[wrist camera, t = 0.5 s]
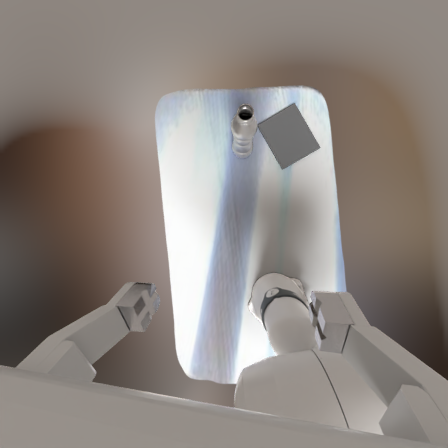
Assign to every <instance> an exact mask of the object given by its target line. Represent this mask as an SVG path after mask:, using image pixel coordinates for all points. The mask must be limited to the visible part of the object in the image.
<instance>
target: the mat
mask: <svg viewBox="0 0 448 448" xmlns="http://www.w3.org/2000/svg"><path fill="white" fill-rule="evenodd" d="M258 128H259V130H260V131H261V133H262V135H263V137H264V138H265V140H266V142H267V144H268V145H269V147H270V149H271V151H272V152H273V154H274V156H275V158H276V159H277V161H278V163H279V165H280V166H281V168H282V170H283V169H284V168H286V167H288V166H290V165H291V164H293V163H295V162H297V161H298V160H300V159H302V158H303V157H305V156H307V155H309V154H310V153H312V152H314V151H316V150H317V149H319V148H320V146H319V144H318V143H317V141H316V139H315V138H314V136H313V134H312V132H311V131H310V129H309V127H308V125H307V124H306V122H305V120H304V118H303V117H302V115H301V113H300V112H299V110H298V108H297V106H296V105H295V103H294V104H293V105H291V106H289V107H288V108H286V109H284V110H283V111H281V112H279V113H278V114H276V115H274V116H273V117H271V118H269V119H268V120H266V121H264V122H263V123H261V124H259V125H258Z"/></svg>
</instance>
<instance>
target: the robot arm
mask: <svg viewBox="0 0 448 448" xmlns="http://www.w3.org/2000/svg"><path fill="white" fill-rule="evenodd" d="M298 286H299V287H298ZM155 290H156V287H155V284H152V283H139V282H128V283H126V284H125V285H124V286H123V287H122V288H121V289H120V290H119V291H118V293H117V294H116V295H115V296H114V297H113V298H112V299H111V300H110V301H109V302H108V304H107V305H103V306H101V307H99V308H98V309H96V310H94V311H92V312H91V313H89V314H87V315H85V316H84V317H82V318H80V319H78V320H77V321H75V322H73V323H71V324H70V325H68V326H66V327H64V328H63V329H61V330H59V331H58V332H56V333H54V334H52V335H51V336H49V337H47V338H46V339H45V340H44V341H43V342H42V343H41V344H40V345H39V346H38V347H37V348H36V349H35V350H34V351H33V352H32V353H31V354H30V355H29V356H28V357H26V358H25V359H24V360H23V361H22V362H21V363H20V364H19V365H18V366H17V367H16V368H12V367H6V366H1V365H0V448H448V381H447V380H446V379H445V378H443V377H442V376H440V375H439V374H438V373H436V372H435V371H434V370H432V369H431V368H430V367H428V366H427V365H426V364H424V363H423V362H422V361H420V360H419V359H418V358H416V357H415V356H414V355H412V354H411V353H409V352H408V351H407V350H405V349H404V348H403V347H401V346H400V345H399V344H397V343H396V342H395V341H393V340H392V339H391V338H389V337H388V336H387V335H385V334H384V333H382V332H381V331H380V330H378V329H377V328H376V327H371V326H370V325H369V323H368V321H367V320H366V318H365V316H364V315H363V313H362V312H361V310H360V308H359V307H358V305H357V303H356V302H355V300H354V299H353V297H352V295H351V294H350V293H348V292H328V291H312V292H311V300H312V302H311V303H310V304H308V300H307V298H306V295H305V292H304V289H303V286H302V283H301V281H300V280H299V279H295V278H289V277H287V276H285V275H282V274H279V273H269V274H266V275H264V276H262V277H260V278H259V279H258V280H257V281H256V283H255V284H254V286H253V289H252V298H251V300H250V302H249V304H248V308H249V310H250V311H251V312H252V314H253V315H254V316H255V317H256V318H257V319H258V321H259V322H260V323H261V324H262V325H263V327H264V328H265V330H266V331H267V334H268V337H269V341H270V344H271V346H272V348H273V350H274V352H275V353H276V354H277V355H278V356H272V357H268V358H266V359H263V360H261V361H259V362H257V363H254V364H252V365H250V366H248V367H246V368H244V369H243V371H242V372H241V374H240V376H239V379H238V382H237V385H236V389H235V396H234V408H232V407H227V406H221V405H215V404H210V403H205V402H199V401H194V400H188V399H183V398H177V397H171V396H166V395H161V394H155V393H150V392H144V391H138V390H133V389H127V388H122V387H116V386H111V385H105V384H100V383H94V382H92V380H93V379H94V377H95V375H96V371H95V370H94V368H93V367H92V364H93V363H94V362H95V361H96V360H98V359H99V358H100V357H101V356H102V355H103V354H105V353H106V352H107V351H108V350H109V349H110V348H112V347H113V346H114V345H115V344H116V343H117V342H119V341H120V340H121V339H122V338H123V337H124V336H125V335H127V334H128V333H129V331H140V332H145V330H146V328H147V326H148V325H149V323H150V322H151V316H152V315H153V314H154V313H155V312H156V311H157V309H158V307H159V304H160V297H159V295H158V294H157V293H156V292H155ZM253 309H254V310H253Z"/></svg>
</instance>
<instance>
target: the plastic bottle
mask: <svg viewBox="0 0 448 448" xmlns="http://www.w3.org/2000/svg"><path fill="white" fill-rule="evenodd" d="M231 130H232V133H233V137H234V140H233V143H232V150H233V153H234V154H235V156H236V157H238V158H241V159H244V158H247V157H248V156H249V155H250V154H251V153H252V150H253V142H252V140H253V137H254V135H255V133H256V131H257V120H256V118H255V116H254V110H253V107H252V106H251V105H249V104H242V105H240V106H239V108H238V110H237V114H236V115H235V116H234V117H233V119H232V122H231Z"/></svg>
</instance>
